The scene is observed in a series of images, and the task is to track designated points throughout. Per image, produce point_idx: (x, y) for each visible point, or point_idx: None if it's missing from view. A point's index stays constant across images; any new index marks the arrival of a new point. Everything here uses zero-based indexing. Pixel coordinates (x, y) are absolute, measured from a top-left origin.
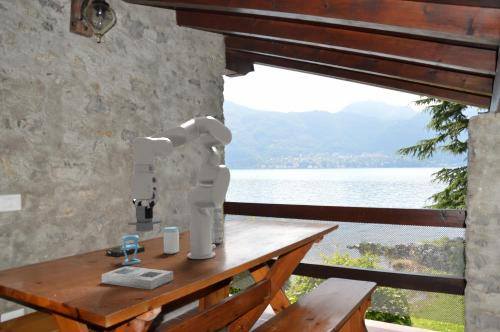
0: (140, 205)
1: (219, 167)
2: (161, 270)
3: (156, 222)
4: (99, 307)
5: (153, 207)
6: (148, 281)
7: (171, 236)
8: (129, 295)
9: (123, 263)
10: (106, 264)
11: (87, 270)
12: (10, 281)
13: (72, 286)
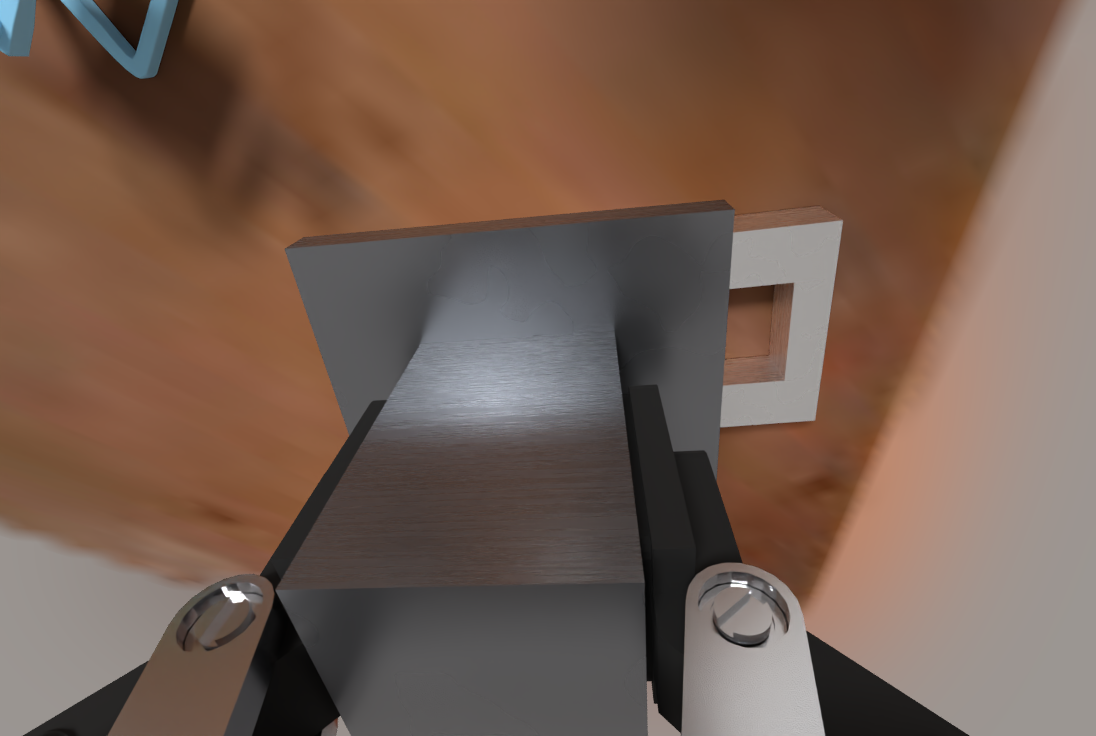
0: (297, 675)
1: None
2: (741, 238)
3: (723, 324)
4: None
5: (749, 568)
6: (794, 418)
7: None
8: (745, 478)
9: (149, 70)
10: (44, 128)
11: (140, 300)
12: (107, 547)
13: None
